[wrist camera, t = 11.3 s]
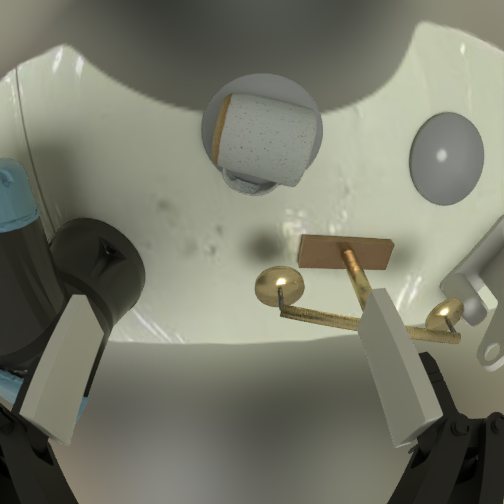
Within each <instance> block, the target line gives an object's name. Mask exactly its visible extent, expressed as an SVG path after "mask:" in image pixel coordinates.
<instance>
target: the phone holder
mask: <svg viewBox="0 0 504 504" xmlns="http://www.w3.org/2000/svg"><path fill="white" fill-rule="evenodd" d="M485 284H486V286H487V287H488V288H489V290H490V291H491V292H492V294H493V295H494V296H495V298H496V299H497V300H498V305H497V308H496V310H495V313H494V315H493V317H492V320H491V322H490V324H489V327H488V329H487V331H486V333H485V335H484V337H483V340H482V341H481V344H480V345H479V348H478V350H477V358H478V360H479V363H480V364H481V365H482V367H483V368H484V369H485V370H486V371H494V370H496V369H498V368H499V367H500V366H502V365H503V364H504V215H502V216H501V217H500V218H499V219H498V220H497V222H496V223H495V224H494V225H493V226H492V228H491V229H490V230H489V231H488V232H487V233H486V235H485V236H484V237H483V238H482V239H481V240H480V242H479V243H478V244H477V245H476V246H475V247H474V248H473V249H472V250H471V251H470V253H469V254H468V255H467V256H466V257H465V258H464V259H463V260H462V261H461V262H460V263H459V264H458V265H457V266H456V267H455V268H454V269H453V270H452V271H451V272H450V273H449V274H448V275H447V276H446V277H445V278H444V279H443V280H442V282H441V283H440V288H441V290H442V291H443V292H444V294H445V295H446V297H447V298H448V299H451V298H458V299H460V300H461V302H462V303H463V305H464V313H463V315H462V317H461V319H462V320H463V321H464V322H465V323H466V324H467V325H468V326H469V327H475V326H477V325H479V324H480V323H481V322H482V321H483V320H484V319H485V317H486V316H487V314H488V308H487V306H486V305H485V303H484V302H483V301H482V299H481V298H480V296H479V295H478V293H477V292H478V291H479V290H480V289H481V288H482V287H483V286H484V285H485ZM496 345H500V352H499V354H498V355H497V357H496V358H495V359H493V360H491V361H486V360H485V357H486V354H487V353H488V351H489V350H490V349H491V348H492V347H494V346H496Z"/></svg>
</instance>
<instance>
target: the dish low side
mask: <svg viewBox="0 0 504 504" xmlns="http://www.w3.org/2000/svg"><path fill="white" fill-rule="evenodd" d="M232 93H246V94H252V95H257V96H262V97H266V98H271V99H276V100H280V101H284V102H289V103H293V104H297V105H300V106H304V107H308V108H312V109H313V110H315V112H316V116H317V123H316V135H315V139H314V144H313V147H312V151H311V155H310V158H309V161H308V164H307V166H306V169H307V168H308V167H309V166H310V165H311V164H312V162H313V161H314V159H315V158H316V156H317V154H318V152H319V149H320V146H321V142H322V136H323V126H322V119H321V115H320V112H319V109H318V107H317V105H316V103H315V102H314V100H313V99H312V98H311V96H310V95H309V94H308V93H307V91H305V90H304V89H303V88H302V87H301V86H300V85H298V84H297V83H295V82H293V81H292V80H290V79H287V78H285V77H282V76H279V75H275V74H268V73H256V74H249V75H246V76H242V77H239V78H237V79H235V80H233V81H231V82H229V83H228V84H226V85H225V86H223V87H222V88H221V89H220V90H219V91H218V92H217V93H216V94H215V95H214V97H213V98H212V99H211V101H210V102H209V104H208V106H207V108H206V110H205V113H204V116H203V121H202V140H203V145H204V148H205V150H206V153H207V155H208V157H209V159H210V160H211V161H212V163H213V164H214V165H215V167H216V168H217V169H218V170H219V171H220V172H222V173H223V171H222V168H223V167H221V166H218V165H216V164H215V163H214V162H213V160H212V158H211V147H212V140H213V134H214V130H215V126H216V121H217V117H218V114H219V111H220V108H221V105H222V102H223V100H224V99H225V97H226V96H228V95H229V94H232ZM306 169H305V170H306ZM230 172H231V174H232V175H233V176H234V177H235V178H239V179H241V180H243V181H246V182H249V183H252V184H265V183H268V182H270V181H269V180H265V179H262V178H259V177H255V176H252V175H248V174H244V173H239V172H235V171H231V170H230ZM279 185H281V184H279Z"/></svg>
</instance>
